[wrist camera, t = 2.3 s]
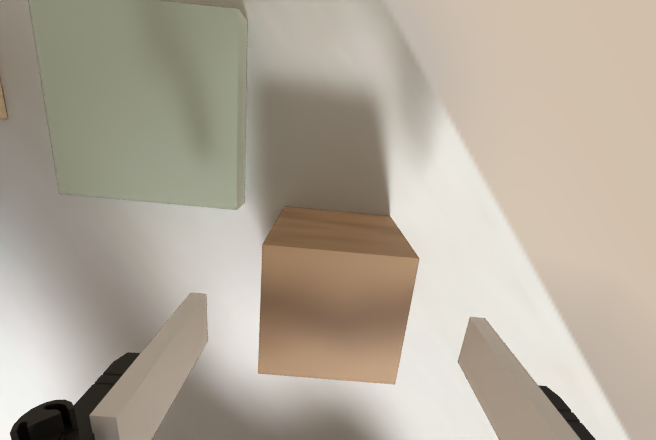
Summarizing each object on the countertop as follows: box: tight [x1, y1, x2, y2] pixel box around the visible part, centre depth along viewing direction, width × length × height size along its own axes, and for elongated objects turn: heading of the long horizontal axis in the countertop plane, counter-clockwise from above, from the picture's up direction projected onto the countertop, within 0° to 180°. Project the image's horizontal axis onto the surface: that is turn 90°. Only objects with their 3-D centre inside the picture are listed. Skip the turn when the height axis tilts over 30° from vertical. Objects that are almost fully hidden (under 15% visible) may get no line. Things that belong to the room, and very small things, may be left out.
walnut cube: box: [258, 207, 419, 384], centre depth 21 cm, size 8×8×8 cm
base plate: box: [28, 0, 247, 210], centre depth 20 cm, size 12×12×2 cm
